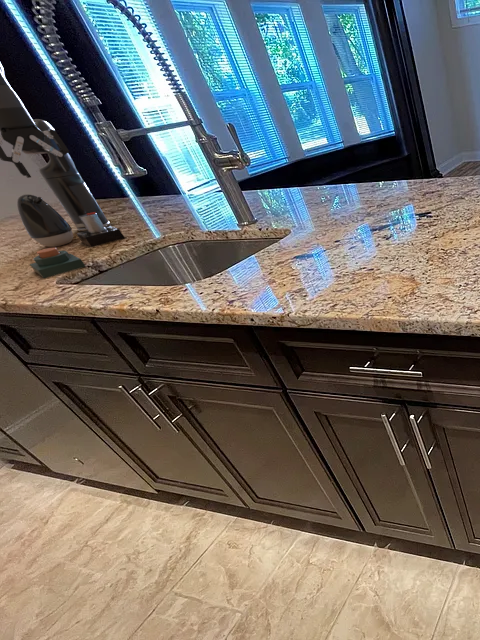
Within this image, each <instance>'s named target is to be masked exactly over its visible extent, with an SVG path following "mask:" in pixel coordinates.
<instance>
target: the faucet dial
mask: <svg viewBox="0 0 480 640" xmlns="http://www.w3.org/2000/svg"><path fill="white" fill-rule="evenodd" d="M79 218H80V220H81V221H82V223H83V224H84V226H85V227H86V229H87V230H88V232H89V233H97V232H101V231H104V230H106V228H105V227H104V225H103V224H102V222H101V221H100V219H99V217H98V216H97V214H96V213H95V212H93V213H88V214H84V215H81V216H79Z"/></svg>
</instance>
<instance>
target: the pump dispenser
mask: <svg viewBox="0 0 480 640" xmlns="http://www.w3.org/2000/svg"><path fill="white" fill-rule="evenodd" d="M16 207H17V211H18V215H19V217H20V220H21V222H22V225H23V227H24V229H25V231H26V233H27V234H28V236H29V238H31V239H32V240H34V241H35V242H37V243H38V244H40V245H41V246H44V247H47V248H57V247H60V246H65V245H68V244H70V243H71V242H72V240H73V239H74V232H73V228H72V227H71V225H70V224H69V223H68V221H67V220H66V219H65V218H64V217H63V216H62V215H61V214H60V213H59V212H58V211H57V210H56V209H55V208H54V207H52V205H50V204H49V203H48V202H46V201H45V200H44V199H43V198H42V197H41V196H36V195H34V194H26V193H25V194H22V195H20V196H19V197H18V198H17V201H16Z"/></svg>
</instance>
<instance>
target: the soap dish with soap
mask: <svg viewBox="0 0 480 640" xmlns="http://www.w3.org/2000/svg"><path fill="white" fill-rule="evenodd" d="M58 251H59V253H60V254H58V255H56V256H52V257H47V258H41V257H40V256H39V255H36V256H34V257H33V258H32V259H33V261H34V262H33V263H32V262H31V263H29V266H30V267H31V268H32V270H33V271H34V272H35V273H36V274H37V275H39V276H40V277H42V278H43V279H46V278H50V277H53V276H57V275H58V276H59V275H61V274H64V273H67V272H71V271H74V270H75V271H76V270H78V269H82V268H86V264H85V263H84V262H83V259H81V258H80V257H77V256H76V255H74V254H72V253H69V252H68V251H67V250H58Z"/></svg>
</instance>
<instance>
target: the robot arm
mask: <svg viewBox="0 0 480 640" xmlns="http://www.w3.org/2000/svg"><path fill="white" fill-rule="evenodd" d="M5 74H6V73H5V70H4V67H3V65H2V63H1V62H0V160H1V161H3V162H9V163H12V164H14V166H15V168H16V169H17V171H18V172H19V174H20V175H21V176H23V177H26V178H27V179H30V178H32V175H31V174H30V172H29V171H28V170H27V168H26V167H25V165H24V164H23V162H21V161H20V159H21V155H22V153H24V154H25V155H31V156H32V155H43V154H47V155H48V158H49V160H48V162H47V163H46V164H45V165H43V166H41V167H40V168H39V169H38V172H39V174H40V176H41V177H42V178H43V179H44V182H46V184H47V186H48V188H50V190H51V191H52V193H53V194H54V196H55V197H56V199H57V200H58V202H59V203H60V205H61V206H62V208H63V210H64V211H65V212H66V214H67V215H68V217H69V219H70V220H71V221H72V223H73V225H74V226H75V227H76V229H77V231H78V232H84V231H88V230H87V229H86V227H85V226H84V224H83V223H82V221H81V220H80V218H79V216H81V215H84V214H88V213H93V212H95V213H96V214H97V216H98V217H99V219H100V221H101V222H102V224H103V225H104V227H105V226H112V225H111V223H110V221H109V219H108V217H106V215H105V213H104V211H103V210H102V208H101V207H100V204H98V202H97V200H96V199H95V197H94V196H93V194H92V192H91V191H90V188H89V187H88V186H87V184H86V182H85V181H84V179H83V178H82V176H81V174H80V173H79V171H78V169H77V168H76V165H75V162H74V161H73V158H72V157H71V155H70V154H69V153H70V150H69V149H68V147H67V145H66V144H65V143H64V141H63V140H62V138H61V137H60V135H59V134H58V133H57V131H56V130H55V128H54V127H53V126H52V125H51V124H50V123H49V122H47V121H46V120H44V119H39V118H35V119H33V118H32V117H31V115H30V113H29V112H28V110H27V108H26V107H25V105H24V103H23V101H22V100H21V99H20V97H19V96H18V94H17V93H16V91H14V89H13V88H12V87H11V85H10V83H9V82H8V80H7V78H6V75H5ZM3 141H5V142H6V143H8V144H10V145H11V146H12V149H11V154H10V156H7V154H6V153H5V151H4V149H3V148H2V146H1V145H3Z"/></svg>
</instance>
